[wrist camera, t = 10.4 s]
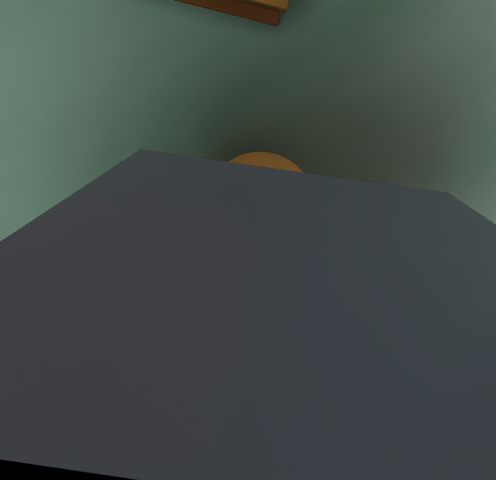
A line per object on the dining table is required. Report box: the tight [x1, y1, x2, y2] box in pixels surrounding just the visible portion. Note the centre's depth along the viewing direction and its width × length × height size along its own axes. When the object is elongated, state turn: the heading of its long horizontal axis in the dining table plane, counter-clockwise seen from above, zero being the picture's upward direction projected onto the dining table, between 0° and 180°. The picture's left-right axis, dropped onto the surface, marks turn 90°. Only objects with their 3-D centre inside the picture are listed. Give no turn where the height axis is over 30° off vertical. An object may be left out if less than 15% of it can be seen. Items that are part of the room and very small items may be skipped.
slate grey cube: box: [0, 149, 496, 480], centre depth 7 cm, size 8×8×9 cm
